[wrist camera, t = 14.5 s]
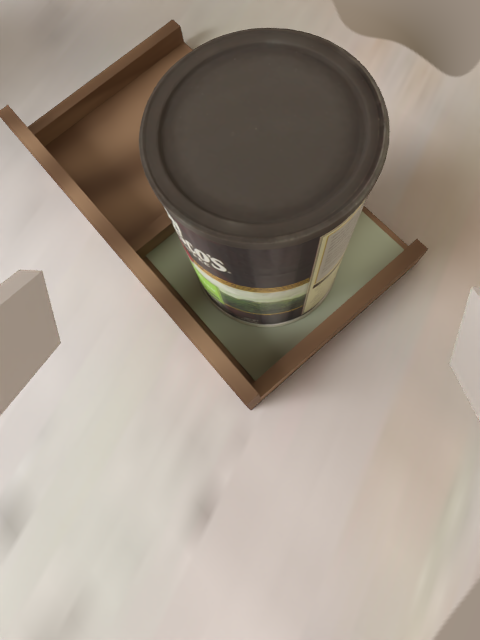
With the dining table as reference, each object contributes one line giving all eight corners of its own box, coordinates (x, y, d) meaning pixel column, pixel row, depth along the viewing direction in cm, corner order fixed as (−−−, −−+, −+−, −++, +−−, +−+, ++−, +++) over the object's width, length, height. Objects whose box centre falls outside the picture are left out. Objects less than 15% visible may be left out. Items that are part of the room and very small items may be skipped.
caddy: (33, 155, 37) (-4, 112, 32) (179, 45, 38) (165, -11, 34) (250, 410, 30) (245, 405, 25) (416, 263, 32) (441, 232, 27)
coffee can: (236, 355, 30) (203, 288, 16) (174, 234, 32) (100, 90, 19) (368, 286, 30) (443, 165, 17) (295, 173, 33) (309, -10, 19)
